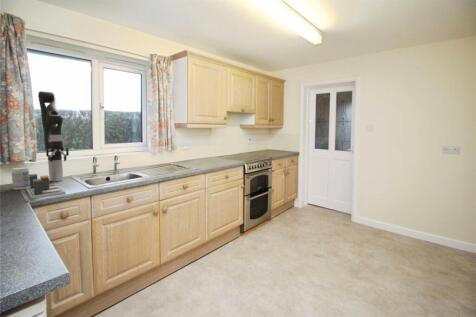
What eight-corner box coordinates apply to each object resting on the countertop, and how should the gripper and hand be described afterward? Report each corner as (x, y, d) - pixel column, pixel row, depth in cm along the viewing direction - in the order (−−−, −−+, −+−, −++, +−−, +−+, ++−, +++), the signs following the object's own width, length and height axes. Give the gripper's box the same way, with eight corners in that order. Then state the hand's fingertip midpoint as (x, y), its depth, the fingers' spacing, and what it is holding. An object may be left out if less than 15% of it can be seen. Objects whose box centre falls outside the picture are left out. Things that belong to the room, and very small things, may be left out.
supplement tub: (28, 189, 181) (26, 168, 179) (10, 190, 177) (9, 169, 175) (32, 186, 190) (30, 166, 188) (15, 187, 185) (13, 167, 184)
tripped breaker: (41, 188, 175) (40, 176, 174) (48, 188, 178) (47, 175, 177) (42, 189, 172) (41, 176, 171) (49, 189, 175) (48, 176, 174)
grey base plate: (26, 189, 179) (25, 174, 178) (57, 186, 191) (56, 171, 190) (31, 198, 159) (29, 181, 158) (65, 193, 171) (64, 177, 170)
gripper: (66, 140, 205) (68, 160, 207) (44, 141, 196) (46, 162, 197) (68, 140, 200) (70, 161, 201) (45, 140, 190) (47, 162, 191)
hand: (58, 161), depth 199 cm, fingers open, 8 cm apart
